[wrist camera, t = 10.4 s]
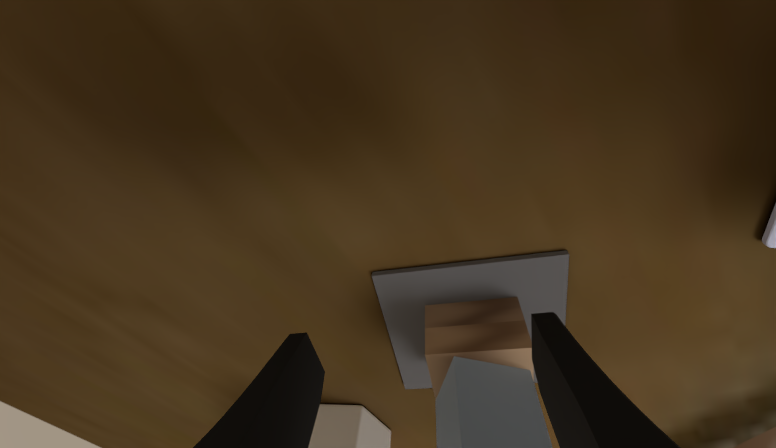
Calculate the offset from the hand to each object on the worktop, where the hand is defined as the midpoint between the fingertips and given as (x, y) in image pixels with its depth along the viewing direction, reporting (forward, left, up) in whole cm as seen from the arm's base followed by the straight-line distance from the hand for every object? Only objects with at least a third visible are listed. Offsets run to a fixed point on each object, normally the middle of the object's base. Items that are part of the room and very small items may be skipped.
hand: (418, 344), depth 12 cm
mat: (-2, +11, -10) cm, 15 cm away
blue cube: (-2, +11, -6) cm, 13 cm away
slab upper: (-2, +11, -8) cm, 14 cm away
